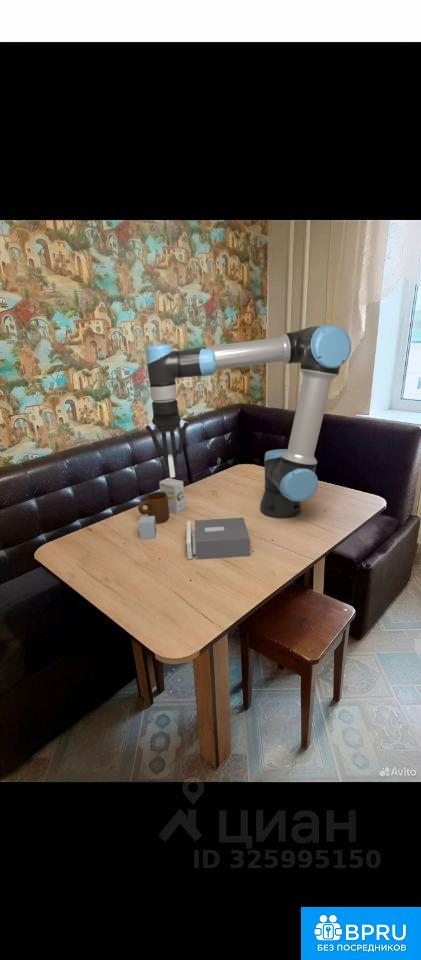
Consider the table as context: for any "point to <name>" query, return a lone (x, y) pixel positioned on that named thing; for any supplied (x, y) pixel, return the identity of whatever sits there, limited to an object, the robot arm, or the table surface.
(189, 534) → the tray
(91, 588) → the table surface
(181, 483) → the ink box
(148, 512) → the mug
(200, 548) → the housing
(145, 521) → the block
